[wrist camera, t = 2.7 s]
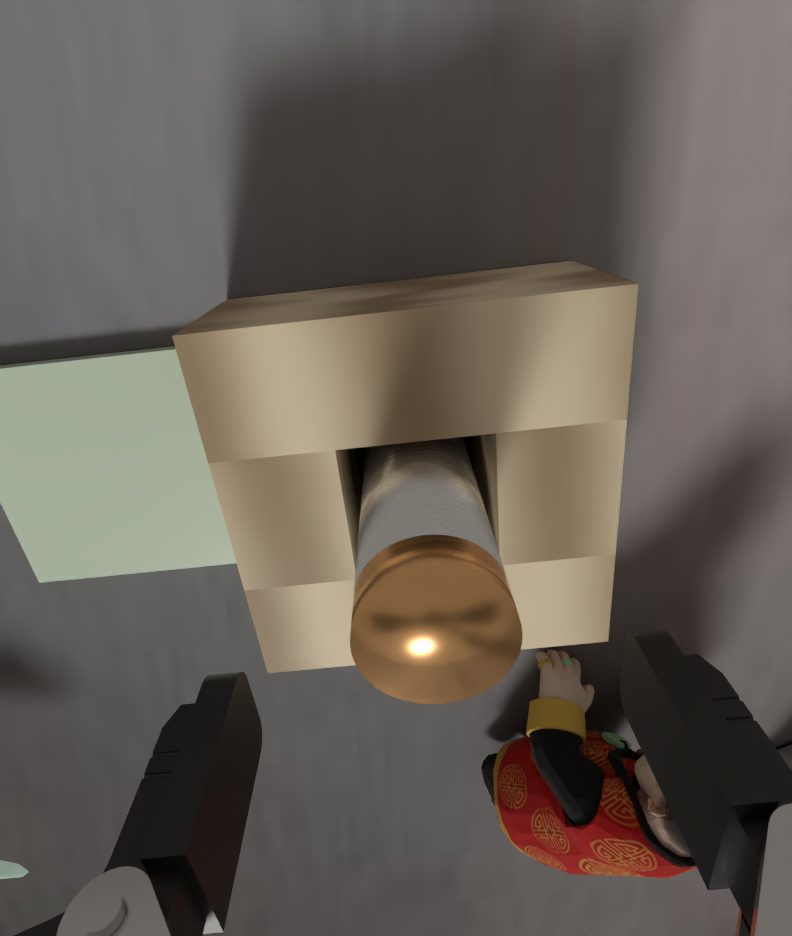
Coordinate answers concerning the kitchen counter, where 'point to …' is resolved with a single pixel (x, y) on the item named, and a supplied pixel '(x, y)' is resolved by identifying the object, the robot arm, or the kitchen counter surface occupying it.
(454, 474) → the copper capped cylinder
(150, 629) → the kitchen counter surface
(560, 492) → the bore block
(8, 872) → the toy
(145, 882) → the robot arm
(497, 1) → the kitchen counter surface
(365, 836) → the kitchen counter surface
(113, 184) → the kitchen counter surface
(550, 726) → the figurine
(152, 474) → the pad
